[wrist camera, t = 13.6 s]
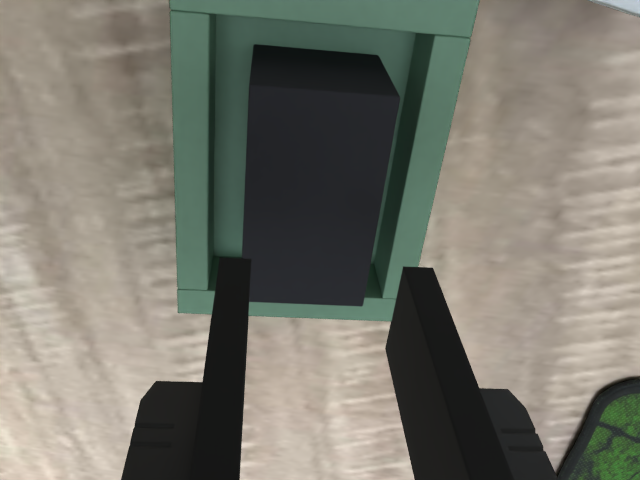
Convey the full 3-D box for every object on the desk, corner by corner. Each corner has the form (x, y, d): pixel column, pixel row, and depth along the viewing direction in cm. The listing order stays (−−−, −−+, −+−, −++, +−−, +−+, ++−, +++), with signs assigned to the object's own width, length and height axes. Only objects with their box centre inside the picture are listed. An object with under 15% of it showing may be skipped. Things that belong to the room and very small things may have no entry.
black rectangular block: (253, 43, 21) (249, 84, 17) (378, 54, 22) (401, 96, 18) (244, 235, 25) (239, 302, 22) (350, 241, 26) (363, 307, 22)
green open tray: (182, -49, 20) (168, -33, 17) (453, -21, 21) (480, -2, 18) (187, 266, 27) (177, 313, 24) (392, 276, 28) (405, 322, 25)
